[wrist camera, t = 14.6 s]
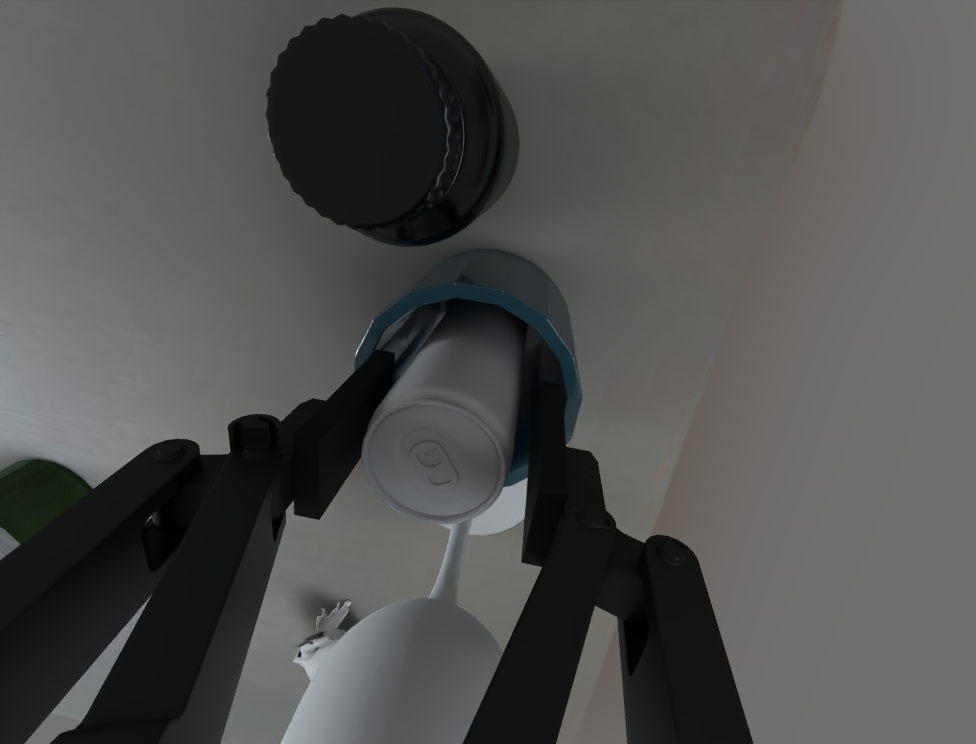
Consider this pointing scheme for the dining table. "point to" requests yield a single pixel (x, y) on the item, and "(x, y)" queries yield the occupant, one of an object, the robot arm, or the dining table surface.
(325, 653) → the white oblong lump
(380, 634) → the wineglass
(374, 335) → the cup
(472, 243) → the dining table surface
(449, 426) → the beverage can
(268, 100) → the supplement bottle
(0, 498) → the wine bottle
